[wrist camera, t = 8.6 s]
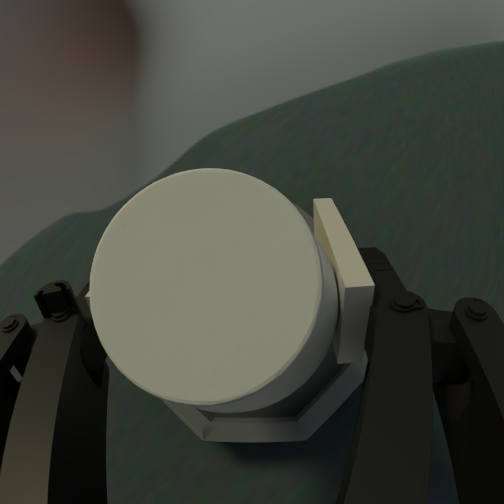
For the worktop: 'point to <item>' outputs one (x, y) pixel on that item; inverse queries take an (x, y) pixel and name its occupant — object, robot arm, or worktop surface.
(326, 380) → the octagonal tray
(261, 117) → the worktop surface
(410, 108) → the worktop surface
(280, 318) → the pill bottle
